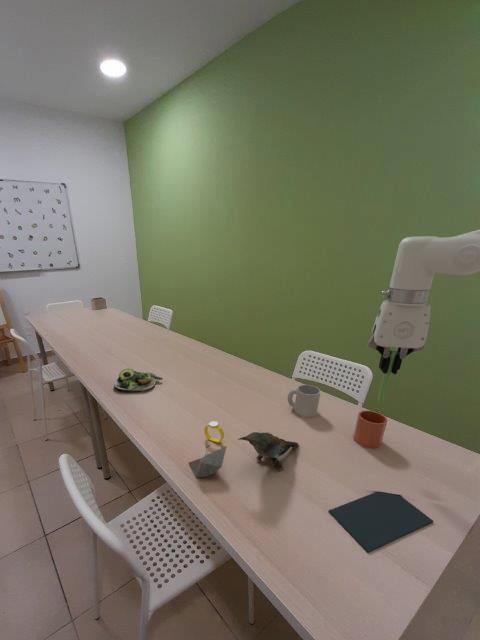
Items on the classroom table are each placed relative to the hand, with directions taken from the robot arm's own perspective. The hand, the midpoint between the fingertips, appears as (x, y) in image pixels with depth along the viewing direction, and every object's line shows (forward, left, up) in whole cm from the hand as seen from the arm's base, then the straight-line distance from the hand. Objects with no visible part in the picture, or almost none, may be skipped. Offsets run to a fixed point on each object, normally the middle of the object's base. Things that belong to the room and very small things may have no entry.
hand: (388, 371), depth 74 cm
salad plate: (+82, -25, -24) cm, 89 cm away
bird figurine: (+27, +11, -24) cm, 37 cm away
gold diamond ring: (+43, +6, -24) cm, 49 cm away
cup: (+17, -16, -24) cm, 34 cm away
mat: (+4, +24, -24) cm, 34 cm away
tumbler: (0, -3, -24) cm, 24 cm away
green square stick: (0, 0, -9) cm, 9 cm away
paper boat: (+42, +18, -24) cm, 51 cm away
